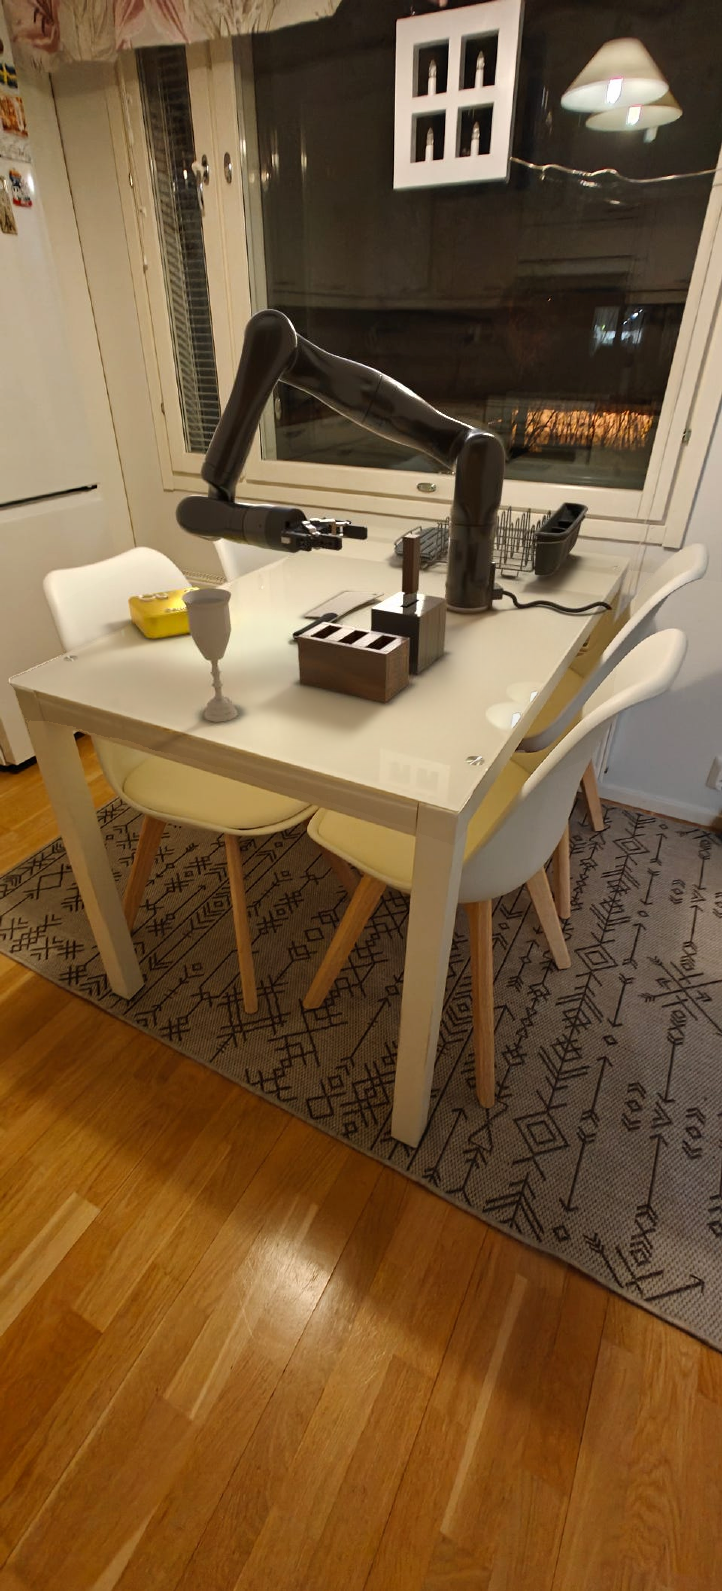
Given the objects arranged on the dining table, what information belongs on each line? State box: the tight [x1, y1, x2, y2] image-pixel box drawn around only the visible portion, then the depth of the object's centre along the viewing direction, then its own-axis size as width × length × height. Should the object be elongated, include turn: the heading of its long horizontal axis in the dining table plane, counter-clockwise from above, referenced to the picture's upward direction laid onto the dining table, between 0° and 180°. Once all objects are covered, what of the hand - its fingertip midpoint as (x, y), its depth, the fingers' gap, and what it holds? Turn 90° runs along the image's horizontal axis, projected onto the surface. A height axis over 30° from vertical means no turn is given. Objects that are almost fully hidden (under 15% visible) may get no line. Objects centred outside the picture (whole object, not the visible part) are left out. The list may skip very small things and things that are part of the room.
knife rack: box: [297, 622, 410, 703], centre depth 116 cm, size 8×16×8 cm, turn 61°
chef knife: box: [401, 533, 421, 608], centre depth 121 cm, size 4×2×21 cm, turn 150°
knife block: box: [370, 590, 448, 675], centre depth 124 cm, size 11×9×10 cm
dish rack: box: [393, 501, 589, 579], centre depth 181 cm, size 34×44×12 cm
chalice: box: [181, 587, 239, 723], centre depth 104 cm, size 7×7×18 cm
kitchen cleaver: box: [292, 591, 385, 642], centre depth 147 cm, size 31×2×10 cm
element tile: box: [127, 587, 199, 640], centre depth 143 cm, size 15×15×5 cm
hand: (354, 538), depth 121 cm, fingers open, 8 cm apart
